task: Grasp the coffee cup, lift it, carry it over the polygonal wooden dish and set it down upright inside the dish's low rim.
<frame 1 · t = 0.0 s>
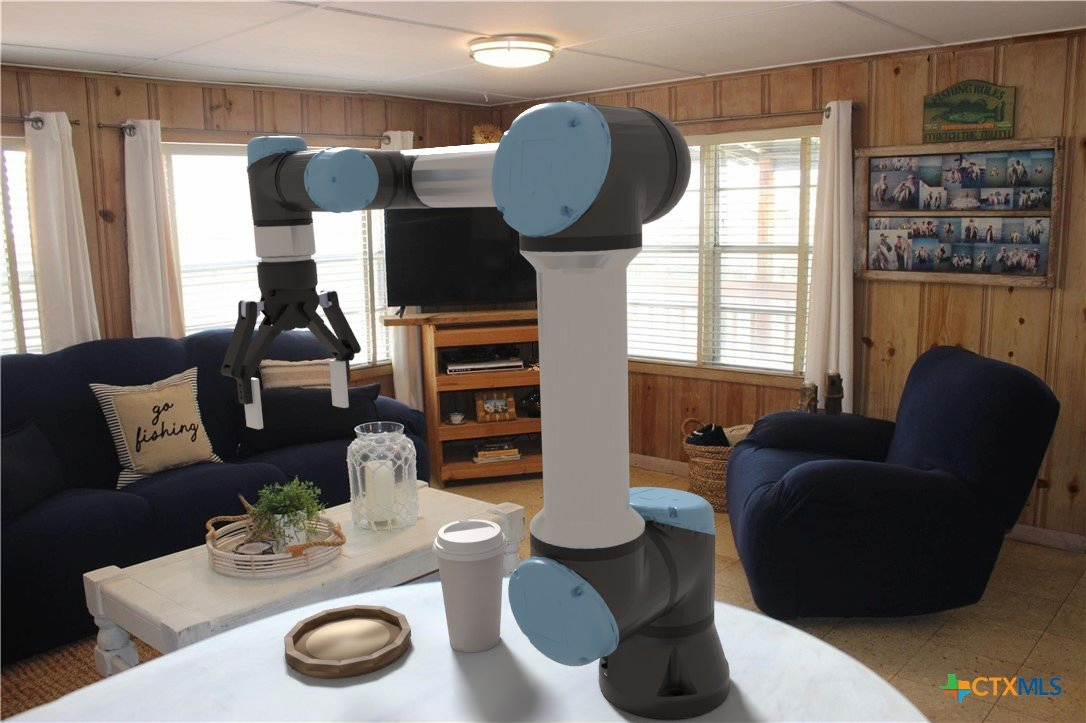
hand: (299, 416, 121), 28 cm above the table, fingers open, 13 cm apart
coffee cup: (474, 641, 116), on the table
polygonal wooden dish: (348, 645, 116), on the table
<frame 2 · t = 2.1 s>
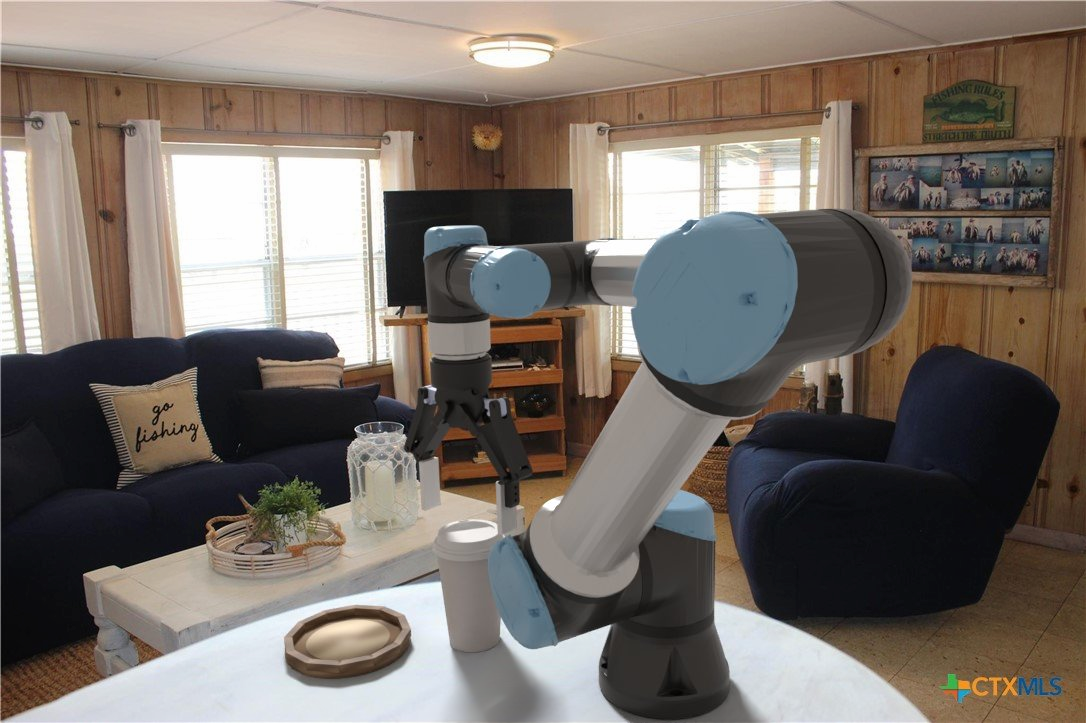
hand: (467, 518, 114), 16 cm above the table, fingers open, 13 cm apart
nothing on the table moved.
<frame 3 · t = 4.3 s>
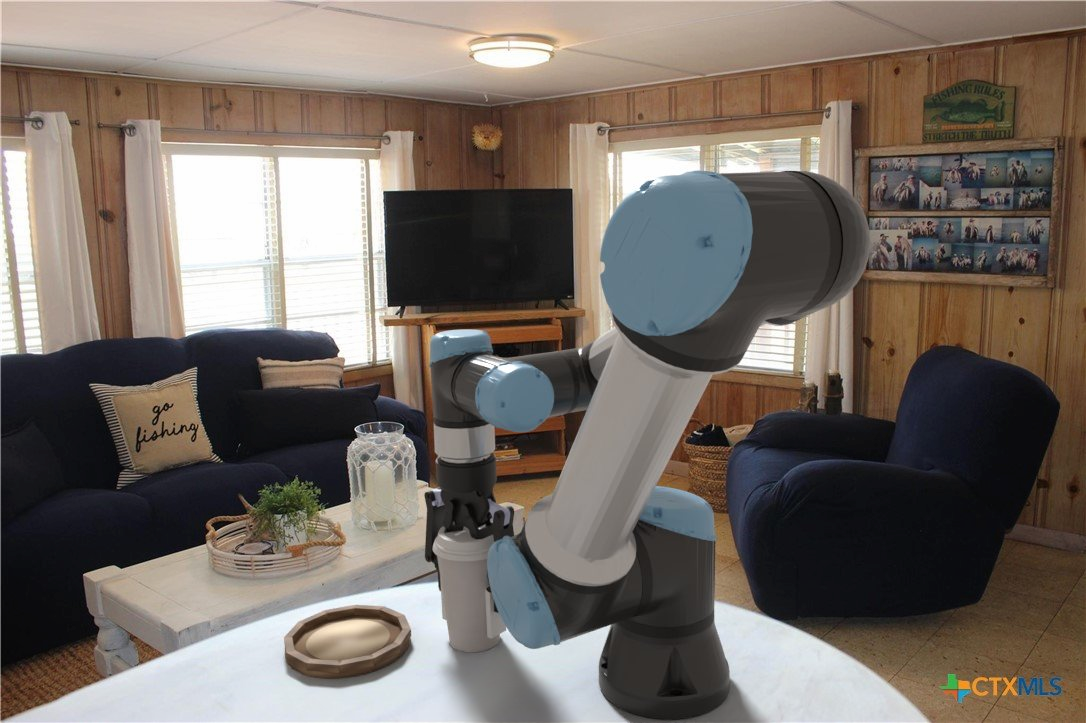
hand: (473, 624, 116), 2 cm above the table, fingers closed on coffee cup, 7 cm apart
coffee cup: (474, 641, 116), on the table, touching gripper
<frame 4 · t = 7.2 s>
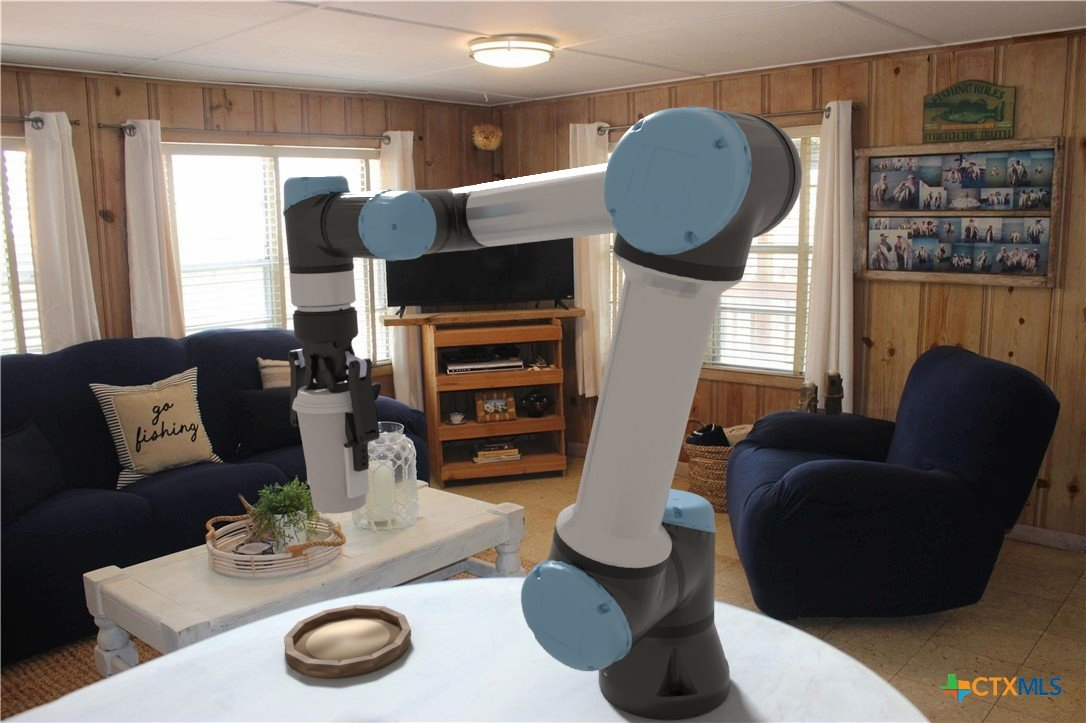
hand: (337, 488, 112), 21 cm above the table, fingers closed on coffee cup, 7 cm apart
coffee cup: (339, 505, 113), point 19 cm above the table, touching gripper
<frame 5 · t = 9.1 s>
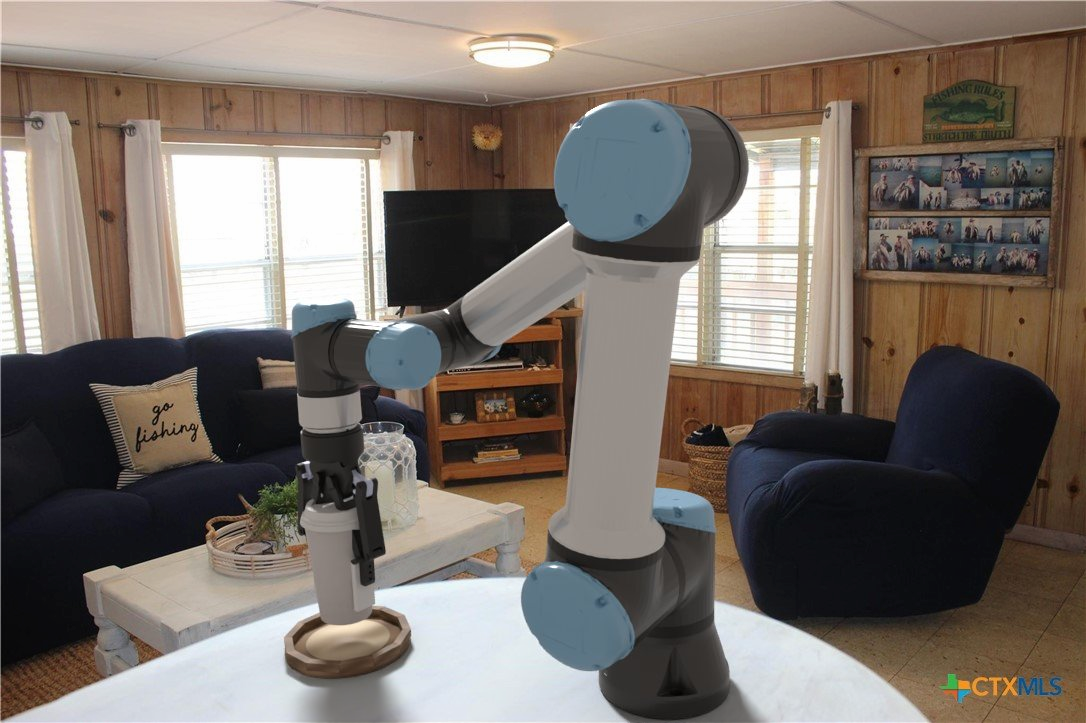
hand: (344, 598, 115), 7 cm above the table, fingers closed on coffee cup, 7 cm apart
coffee cup: (346, 614, 115), point 4 cm above the table, touching gripper
when the fingers open (4 cm above the table, at t = 10.4 s): coffee cup stays where it is, resting on polygonal wooden dish.
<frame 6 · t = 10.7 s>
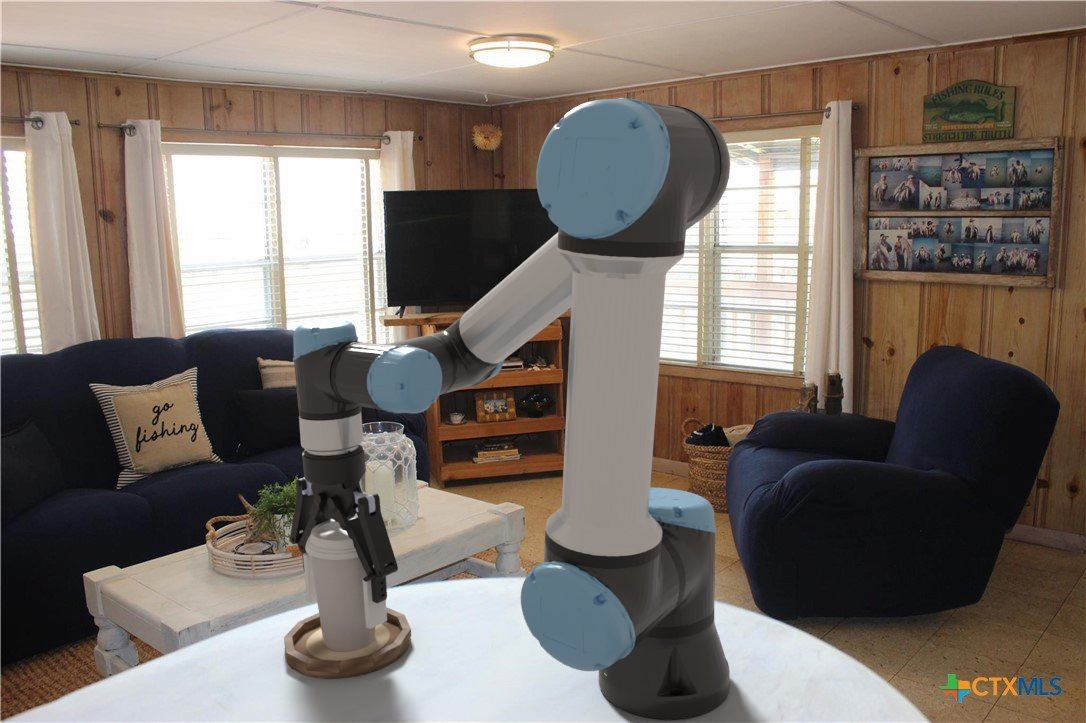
hand: (345, 610, 115), 5 cm above the table, fingers open, 11 cm apart
coffee cup: (349, 640, 116), point 1 cm above the table, touching polygonal wooden dish
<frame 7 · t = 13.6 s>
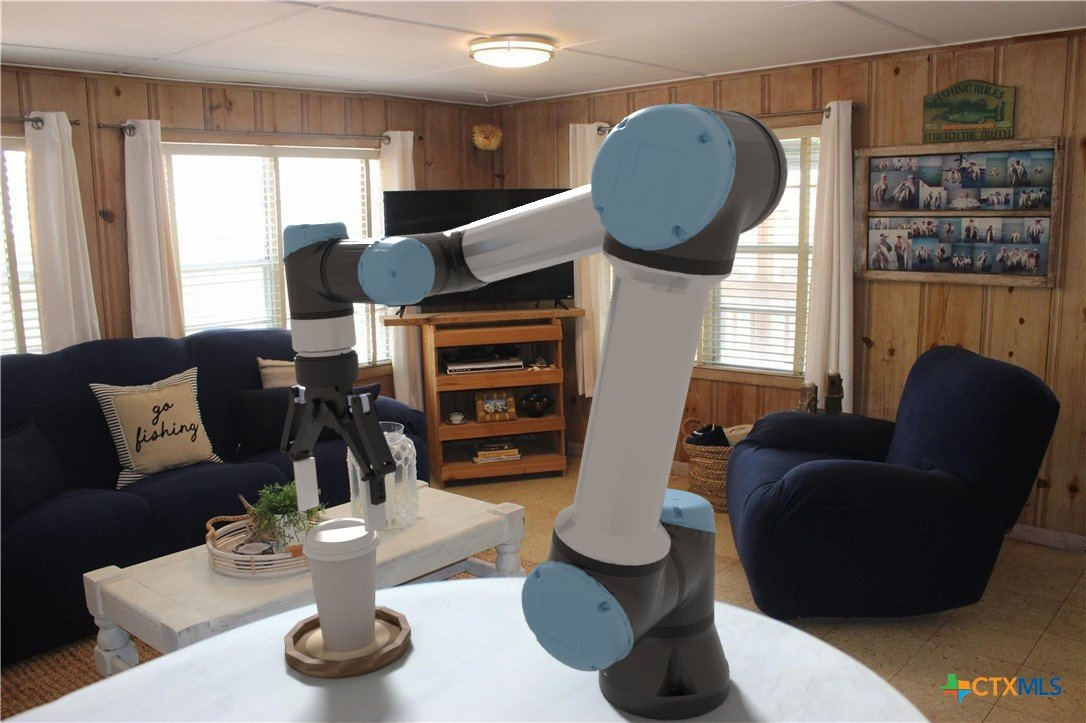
hand: (341, 518, 112), 17 cm above the table, fingers open, 13 cm apart
nothing on the table moved.
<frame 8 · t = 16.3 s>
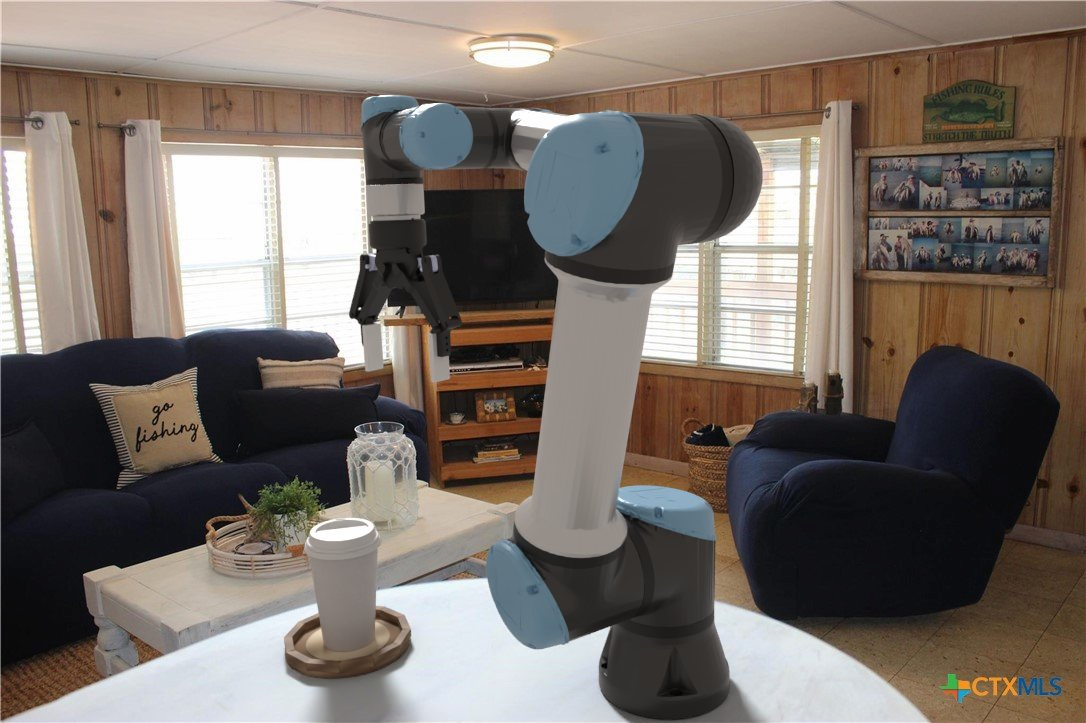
hand: (406, 375, 123), 33 cm above the table, fingers open, 13 cm apart
nothing on the table moved.
at the end: coffee cup 0.2 cm from the polygonal wooden dish (horizontally); coffee cup tilted 1°; coffee cup point 0.7 cm above the table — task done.
